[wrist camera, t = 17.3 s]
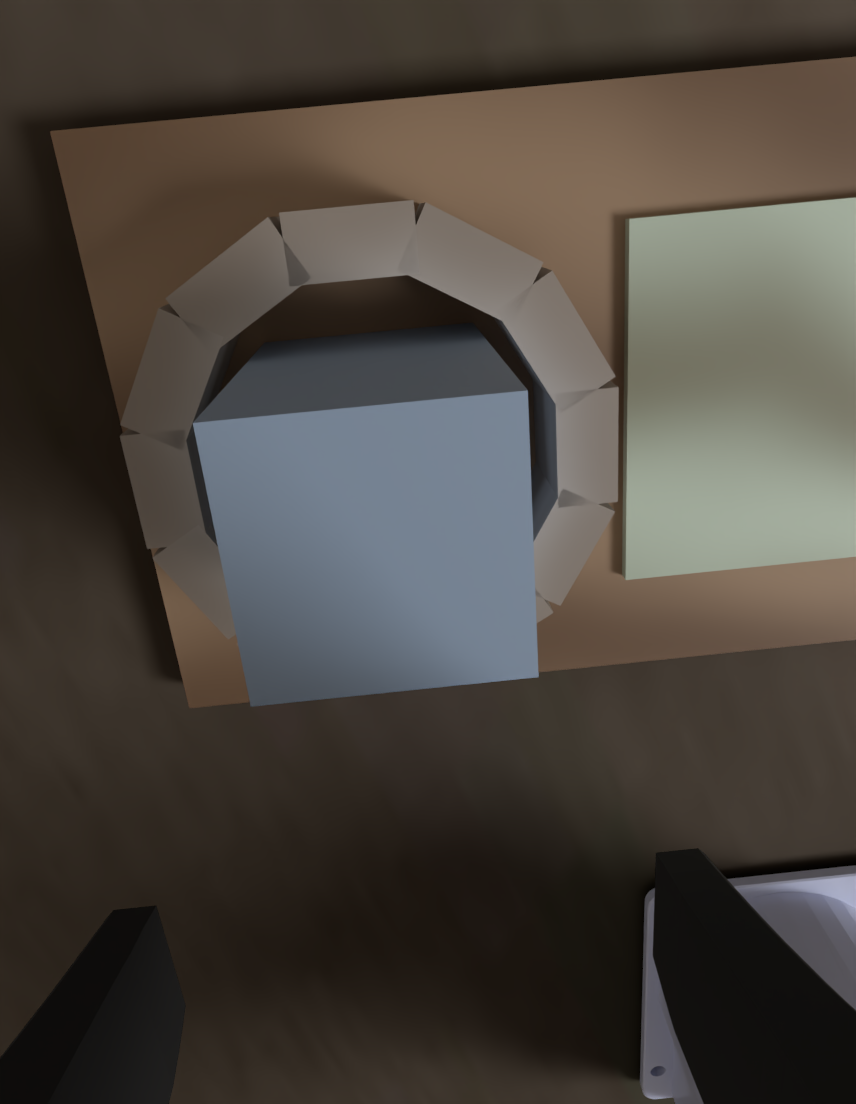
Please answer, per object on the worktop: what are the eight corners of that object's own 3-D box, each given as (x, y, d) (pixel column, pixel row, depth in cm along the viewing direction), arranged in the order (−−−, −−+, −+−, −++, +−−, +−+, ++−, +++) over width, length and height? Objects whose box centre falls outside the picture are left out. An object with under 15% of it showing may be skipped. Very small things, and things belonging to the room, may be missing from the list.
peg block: (484, 516, 19) (538, 677, 12) (295, 535, 19) (250, 706, 12) (472, 322, 17) (527, 390, 11) (264, 342, 17) (192, 423, 10)
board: (944, 609, 22) (1043, 680, 18) (197, 686, 21) (164, 771, 18) (1049, 44, 16) (1213, 4, 13) (68, 135, 16) (-10, 116, 13)
